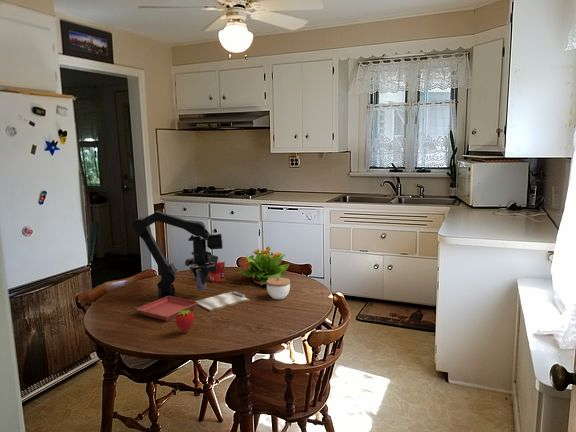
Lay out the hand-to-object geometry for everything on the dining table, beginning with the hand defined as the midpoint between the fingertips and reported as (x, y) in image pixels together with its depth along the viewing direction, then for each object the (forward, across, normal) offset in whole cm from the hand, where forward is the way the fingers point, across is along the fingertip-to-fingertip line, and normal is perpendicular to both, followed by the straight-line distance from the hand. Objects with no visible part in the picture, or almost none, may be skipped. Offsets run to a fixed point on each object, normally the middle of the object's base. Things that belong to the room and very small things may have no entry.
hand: (201, 283), depth 202 cm
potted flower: (+7, 0, -35) cm, 35 cm away
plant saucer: (+7, -7, +20) cm, 22 cm away
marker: (+3, 0, 0) cm, 3 cm away
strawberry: (+7, -32, +25) cm, 41 cm away
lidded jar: (+7, -25, -25) cm, 36 cm away
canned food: (+7, +17, -19) cm, 26 cm away
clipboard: (+6, -12, -3) cm, 14 cm away
